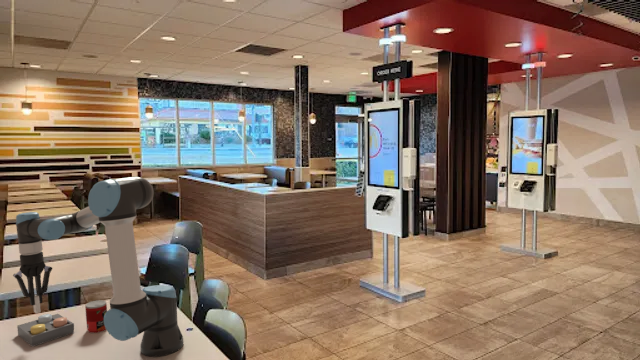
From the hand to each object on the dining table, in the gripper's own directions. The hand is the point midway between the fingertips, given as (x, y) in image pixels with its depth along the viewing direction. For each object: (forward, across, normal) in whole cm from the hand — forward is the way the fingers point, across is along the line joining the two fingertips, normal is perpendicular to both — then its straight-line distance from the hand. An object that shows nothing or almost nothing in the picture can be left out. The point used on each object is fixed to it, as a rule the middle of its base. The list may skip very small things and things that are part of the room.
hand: (37, 312), depth 172 cm
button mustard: (+10, 0, -1) cm, 10 cm away
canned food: (+12, -19, +7) cm, 24 cm away
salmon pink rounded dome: (+10, -8, -1) cm, 12 cm away
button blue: (+9, -5, -10) cm, 14 cm away
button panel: (+12, -4, -5) cm, 13 cm away
